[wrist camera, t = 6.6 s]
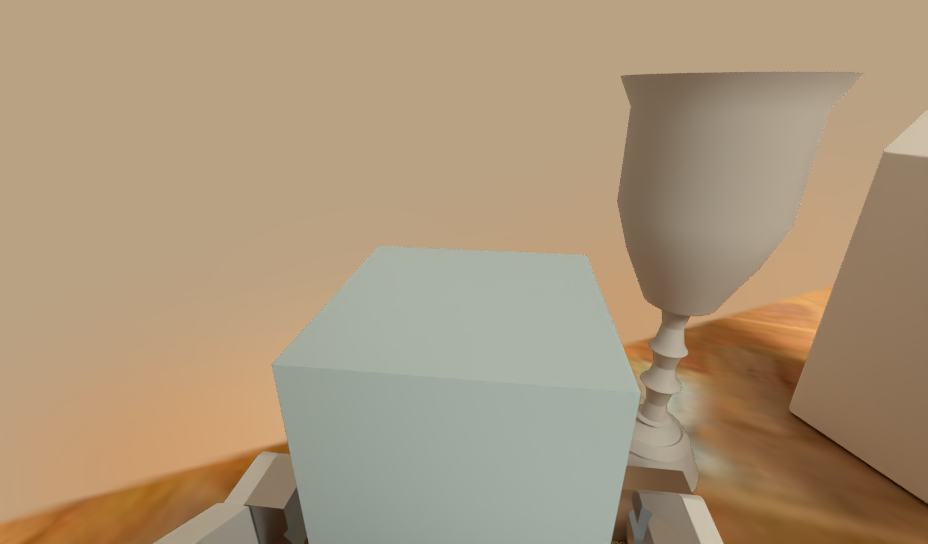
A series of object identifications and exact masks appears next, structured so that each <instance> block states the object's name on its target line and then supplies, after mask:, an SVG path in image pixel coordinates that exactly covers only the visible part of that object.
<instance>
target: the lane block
mask: <svg viewBox="0 0 928 544" xmlns="http://www.w3.org/2000/svg"><path fill="white" fill-rule="evenodd" d="M272 368H273V373H274V378H275V383H276V388H277V392H278V397H279V402H280V407H281V412H282V416H283V421H284V426H285V431H286V436H287V441H288V446H289V450H290V455H291V460H292V465H293V470H294V475H295V479H296V484H297V489H298V494H299V499H300V504H301V509H302V513H303V518H304V523H305V528H306V533H307V538H308V542H309V544H611V540H612V535H613V530H614V525H615V520H616V515H617V510H618V505H619V500H620V495H621V490H622V485H623V480H624V475H625V470H626V465H627V460H628V455H629V450H630V445H631V440H632V435H633V430H634V425H635V420H636V415H637V410H638V405H639V400H640V395H641V392H640V389H639V387H638V384H637V382H636V379H635V376H634V374H633V371H632V369H631V366H630V364H629V361H628V359H627V356H626V354H625V351H624V349H623V346H622V343H621V341H620V339H619V336H618V334H617V331H616V328H615V326H614V323H613V321H612V318H611V316H610V313H609V311H608V308H607V306H606V303H605V300H604V298H603V296H602V293H601V290H600V288H599V285H598V283H597V280H596V277H595V275H594V272H593V270H592V268H591V265H590V262H589V260H588V257H587V255H573V254H550V253H528V252H505V251H482V250H459V249H434V248H413V247H390V246H379V247H378V248H377V249H376V250H375V251H374V252H373V253H372V254H371V256H369V258H368V259H367V260H366V261H365V262H364V263H363V264H362V265H361V266H360V268H359V269H358V270H357V271H356V272H355V273H354V274H353V275H352V276H351V277H350V279H349V280H348V281H347V282H346V283H345V284H344V285H343V286H342V287H341V289H340V290H339V291H338V292H337V293H336V294H335V295H334V296H333V298H332V299H331V300H330V301H329V302H328V303H327V304H326V305H325V306H324V307H323V309H321V311H320V312H319V313H318V314H317V315H316V316H315V317H314V318H313V320H312V321H311V322H310V323H309V324H308V325H307V326H306V327H305V328H304V329H303V330H302V332H301V333H300V334H299V335H298V336H297V337H296V338H295V339H294V341H293V342H292V343H291V344H290V345H289V346H288V347H287V348H286V349H285V350H284V351H283V353H282V354H281V355H280V356H279V357H278V358H277V359H276V360H275V361H274V363H273V364H272Z"/></svg>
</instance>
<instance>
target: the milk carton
mask: <svg viewBox="0 0 928 544" xmlns="http://www.w3.org/2000/svg"><path fill="white" fill-rule="evenodd" d="M789 410H790V411H791V412H792V413H793V414H795V415H796V416H798V417H799V418H801V419H802V420H803V421H805V422H806V423H808V424H809V425H811V426H812V427H814V428H815V429H817V430H818V431H820V432H821V433H823V434H824V435H826V436H827V437H829V438H830V439H832V440H833V441H835V442H836V443H838V444H839V445H841V446H842V447H844V448H845V449H847V450H848V451H850V452H851V453H853V454H854V455H856V456H857V457H859V458H860V459H861V460H863V461H864V462H866V463H867V464H869V465H870V466H872V467H873V468H875V469H876V470H878V471H879V472H881V473H882V474H884V475H885V476H887V477H888V478H890V479H891V480H893V481H894V482H896V483H897V484H899V485H900V486H902V487H903V488H905V489H906V490H908V491H909V492H911V493H912V494H914V495H915V496H917V497H918V498H920V499H921V500H923V501H924V502H926V503H927V504H928V110H926V112H924V113H923V114H922V115H921V116H920V117H919V118H918V119H917V120H916V121H915V122H914V123H912V124H911V125H910V126H909V127H908V128H907V129H906V130H905V131H904V132H903V133H902V134H901V135H900V136H898V138H896V139H895V140H894V141H893V142H892V143H891V144H890V145H889V146H888V147H887V148H886V149H885V150H883V154H882V157H881V160H880V163H879V165H878V168H877V171H876V173H875V176H874V179H873V182H872V184H871V187H870V189H869V192H868V195H867V198H866V200H865V203H864V206H863V209H862V211H861V214H860V216H859V219H858V222H857V225H856V227H855V230H854V233H853V235H852V238H851V241H850V244H849V246H848V249H847V252H846V254H845V257H844V260H843V262H842V265H841V268H840V270H839V273H838V276H837V279H836V281H835V284H834V287H833V289H832V292H831V295H830V297H829V300H828V303H827V305H826V308H825V311H824V314H823V316H822V319H821V322H820V324H819V327H818V330H817V332H816V335H815V338H814V341H813V343H812V346H811V349H810V351H809V354H808V357H807V359H806V362H805V365H804V368H803V370H802V373H801V376H800V378H799V381H798V384H797V386H796V389H795V392H794V395H793V397H792V400H791V403H790V406H789Z"/></svg>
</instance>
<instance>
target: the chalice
mask: <svg viewBox="0 0 928 544" xmlns="http://www.w3.org/2000/svg"><path fill="white" fill-rule="evenodd" d="M862 75H863V73H854V72H727V73H726V72H724V73H675V74H644V75H625V76H621V79H622V82H623V85H624V88H625V91H626V93H627V97H628V99H629V102H630V105H631V109H630V116H629V123H628V130H627V137H626V144H625V151H624V158H623V165H622V172H621V179H620V186H619V193H618V200H617V202H618V208H619V213H620V218H621V223H622V228H623V233H624V237H625V242H626V247H627V251H628V253H629V256H630V259H631V262H632V265H633V267H634V270H635V273H636V276H637V279H638V282H639V285H640V287H641V290H642V293H643V296H644V298H645V299H646V300H647V301H648V302H649V303H651V304H652V305H654V306H655V307H657V308H660V309H662V324H661V326H660V328H659V331H658V333H657V335H656V337H654V338H653V339H652V340H650V342H649V346H650V348H651V350H652V351H653V358H654V363H653V364H652V366H651V368H650V369H649V370H647V371H645V372H643V373H642V374H641V376H640V378H641V381H642V382H643V384H644V385H645V386H646V397H647V398H646V400H645V402H644V404H643V405H638V410H637V415H636V420H635V425H634V430H633V435H632V440H631V445H630V450H629V455H628V460H627V465H626V466H637V467H647V468H658V469H668V470H679V471H683V473H684V475H685V478H686V480H687V482H688V485H689V487H690V489H691V492H693V491H694V490H695V489H696V487H697V483H698V480H699V475H698V470H697V466H696V464H695V462H694V461H695V460H694V455H693V450H692V448H691V444H690V439H689V436H688V434H687V433H686V431H685V430H684V428H683V427H682V425H681V424H680V423H679V421H678V420H677V419H676V418H675V417H673V416H672V415H671V414H669V413H668V412H667V403H668V401H669V399H670V397H671V395H672V394H675V393H678V392H679V391H681V388H682V386H681V383H680V382H679V381H678V379H677V378H676V373H675V367H676V366H677V364H678V363H679V361H680V359H682V358H683V357H685V356H687V354H688V350H687V348H686V346H685V344H684V327H685V325H686V323H687V321H688V319H689V317H690V316H703V315H709V314H711V313H713V312H715V311H716V310H717V309H718V308H719V307H720V306H721V305H722V304H723V303H724V302H725V301H726V300H727V299H728V298H729V297H730V296H731V295H732V294H734V293H735V292H736V291H737V290H738V289H739V288H740V287H741V286H742V285H743V284H744V283H745V282H746V281H747V280H748V279H749V278H750V277H751V276H752V275H754V273H756V272H757V271H758V270H759V269H760V267H761V266H762V265H763V264H764V262H765V261H766V260H767V259H768V257H769V256H770V255H771V254H772V252H773V251H774V250H775V249H776V247H777V246H778V245H779V243H780V242H781V241H782V240H783V238H784V237H785V236H786V235H787V233H788V232H789V231H790V230H791V228H792V227H793V225H794V222H795V219H796V216H797V212H798V209H799V206H800V203H801V200H802V196H803V193H804V190H805V186H806V183H807V180H808V177H809V174H810V171H811V167H812V164H813V161H814V158H815V155H816V151H817V148H818V145H819V141H820V139H821V135H822V132H823V129H824V126H825V123H826V119H827V116H828V113H829V111H830V109H831V108H832V107H833V106H834V105H835V104H836V103H837V102H838V101H839V100H840V99H841V97H842V96H843V95H844V94H845V93H846V92H847V91H848V90H849V89H850V88H851V87H852V86H853V85H854V83H855V82H856V81H857V80H858V79H859V78H860V77H861V76H862Z"/></svg>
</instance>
